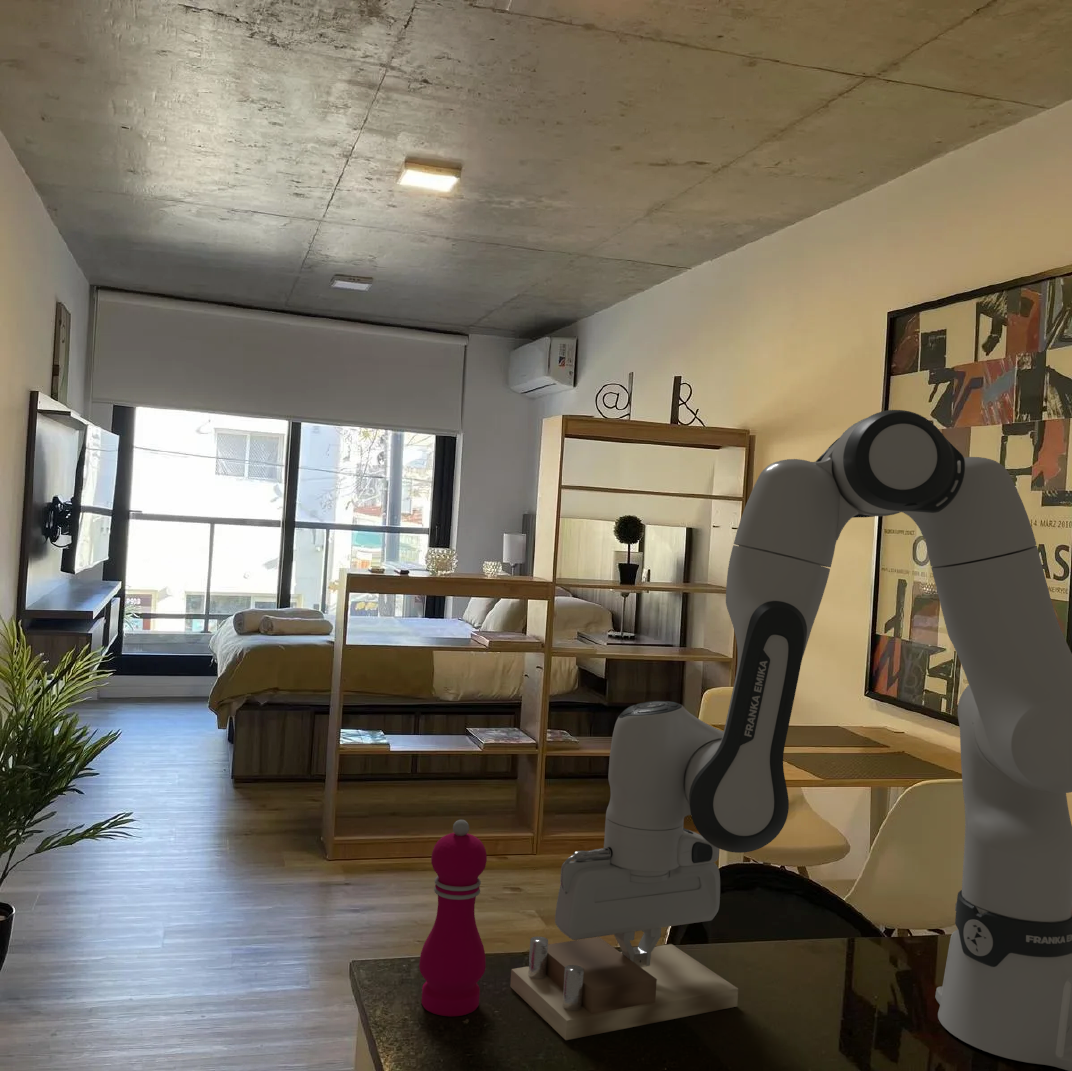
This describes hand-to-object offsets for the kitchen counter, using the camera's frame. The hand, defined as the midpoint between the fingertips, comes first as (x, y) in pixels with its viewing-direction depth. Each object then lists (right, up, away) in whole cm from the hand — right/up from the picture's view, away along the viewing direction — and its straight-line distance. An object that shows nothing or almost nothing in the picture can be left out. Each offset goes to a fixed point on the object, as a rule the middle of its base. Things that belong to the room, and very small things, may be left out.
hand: (635, 966), depth 116 cm
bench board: (-1, -3, -1) cm, 4 cm away
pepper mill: (-21, -2, -5) cm, 21 cm away
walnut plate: (-5, -1, -3) cm, 6 cm away
